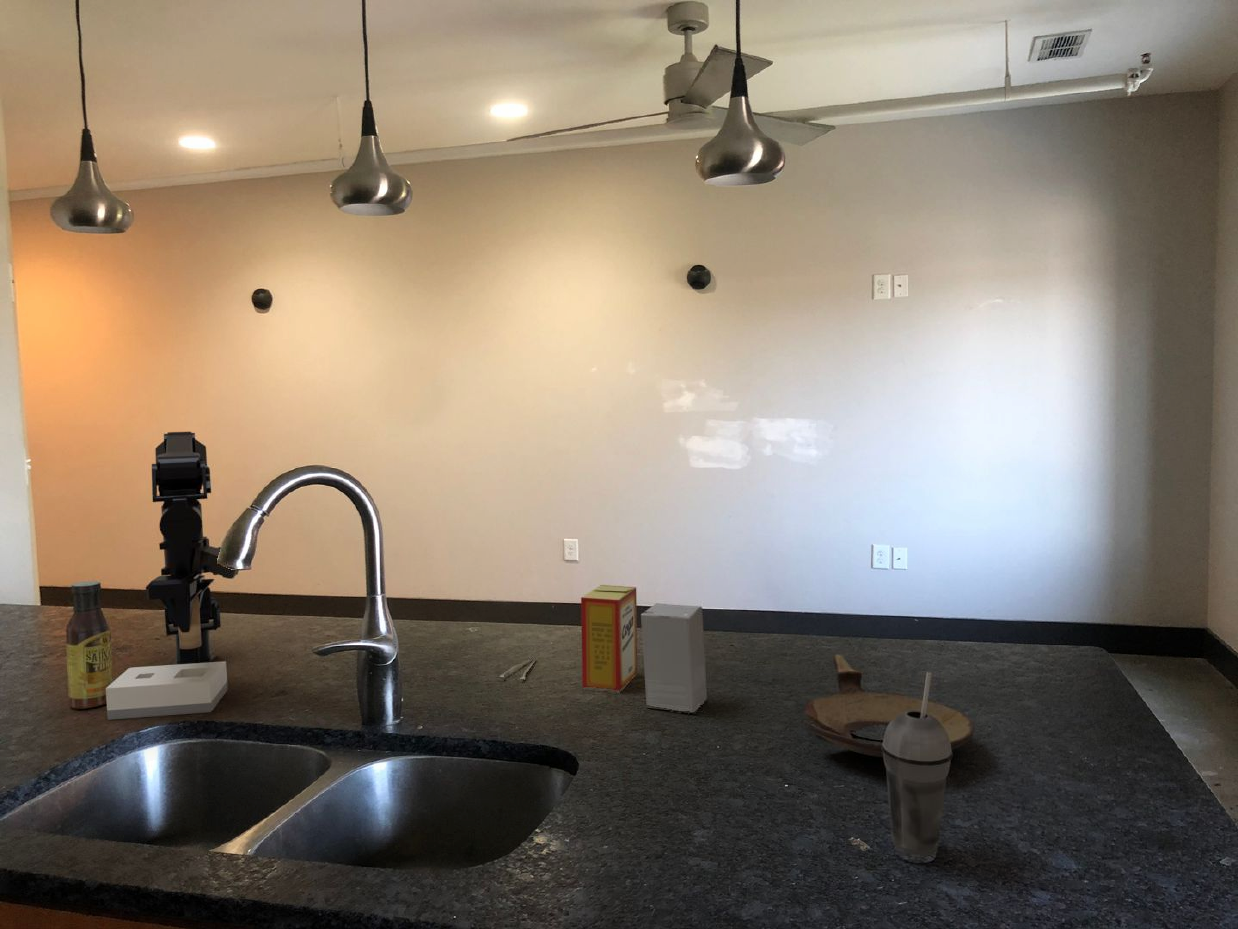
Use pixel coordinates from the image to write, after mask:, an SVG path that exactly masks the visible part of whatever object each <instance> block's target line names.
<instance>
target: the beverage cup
mask: <svg viewBox="0 0 1238 929" xmlns="http://www.w3.org/2000/svg"><path fill="white" fill-rule="evenodd" d="M931 680H932V672H929V671H926V676H925V684H924V687H923V688H924V689H923V697H922V700H923V702H922V709H921V711H907V712H904V713H902V714H899V715H898V716H897V717H895V718H894V719H893V720H892V721H891V722H890V723H889V725H888V726H887V728H886V731H885V734H884V738H883V742H881V744H882V747H881V749H882V750H883V757H882V758H883V763H884V767H885V769H886V770H885V771H886V783H887V786H886V787H887V798H888V811H889V813H888V814H889V824H890V825H889V826H890V837H891V842H893V844H894V846H896V848H898V849H899V850H901V851H903V852H907V853H910V854H914V855H920V856H922V855H923V856H925V855H927V856H928V855H931V854H933V853H935V852H936V851H937V852H938V846H939V844H940V834H941V827H942V818H943V817H942V816H943V812H944V811H943V810H944V801H945V793H946V786H947V785H946V784H947V776H948V775H949V771H950V767H951V760H952V759H953V749H952V750H951V743H950V739H949V736H948V734H947V732H946V730H945V728H944V727H943V726H942V725H941V723H940V722H939V721H938V720H937V719H936V718H934V717H932V716H931V715H929V714H927V713H926V709H927V702H928V701H929V695H930V687H931ZM893 844H892V845H893Z"/></svg>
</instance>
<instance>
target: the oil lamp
mask: <svg viewBox="0 0 1238 929" xmlns="http://www.w3.org/2000/svg"><path fill="white" fill-rule="evenodd" d="M833 665H834V670H835V673H836V679H837V680H836V681H837V685H838V689H839V693H837V694H833V695H827V696H821V697H819V698H816V699H813V700H810V701H809V702H808V703H807V704H806V707H805V711H804V715H805V716H806V717H807V718H809V720H811V721H812V722H813V723H814V724H813V723H810V722H809V723H808V724H807V729H808V730H810V731H811V732H813V733H814V734H816V735H817V736H820V737H821V738H822V739H825V740H826V741H828V742H830V743H832V744H835V745H837V746H840V747H842V748H845V749H846V750H850V751H852V752H855V753H859V754H861V755H865V756H871V757H875V758H876V757H879V758H883V750H882V749H881V747H882V743H873V742H870V743H869V742H864V741H860V740H857V739H854V738H853V736H852V734H850V732H856V731H857V730H862V729H863V728H865V727H868V726H869V727H870V726H871V727H873V726H874V725H877V726H879V725H885V726H888V725H889V723H890V722H891V721H892V720H893V719H894V718H895V717H897V716H898V715H899V714H902V713H904V712H907V711H921V709H922V702H923V699H919V698H915V697H909V696H903V695H899V694H894V693H893V694H891V693H884V692H883V693H881V692H869V691H865V690H864V689H863V688H862V682H861V681H862V678H863V677H862V671H859V670H855V669H853V668H852V666H851V665H850V664H849V663H848V661H847V660H846V659H845V657H844V656H843V655H841V654H839V653H836V654H834V656H833ZM926 713H927V714H929V715H931V716H932V717H934V718H936V719H937V720H938V721H939V722H940V723H941V725H942V726H943V727H944V728H945V730H946V732H947V734H948V736H949V739H950V743H951V750H952V751H953V750H954V749H957V748H959V747H961V746H963V745H965V744H967V743H968V742H970V741H971V739H972V737H973V735H974V731H975V728H974V727H975V726H974V723H973V721H972V719H970V718H969V717H968V716H966V715H964V713H962V712H961V711H960V710H957V709H954V708H951V707H949V706H947V705H944V704H942V703H937V702H935V701H929V700H928V702H927V709H926ZM815 724H816V725H817V726H816V725H815ZM819 726H820V727H819Z"/></svg>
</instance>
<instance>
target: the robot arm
mask: <svg viewBox="0 0 1238 929" xmlns="http://www.w3.org/2000/svg"><path fill="white" fill-rule="evenodd" d="M154 452H155V463H151V490H152V492H151V493H152V494H151V495H152V496H151V497H152V503H159V502H160V503H162V502H163V503H162V505H161V507H160V508H161V516H160V520H159V526H158V527H159V530H160V533H161V535H162V537H163V538H162V539H163V540H162V541H161V542H159V543H158V545H159V551H160V550H161V551H163V556H164V567H163V568H161V569H160V573H161V575H159V576H157V577H155V578H154V579H152V580H151V581H150V582H149V583H148V584H147V585H146V586H145V596H146V600H148V601H149V600H151V601H152V600H160V601H161V603H162V604H163V606H164V621H165V622H164V623H165V634H166V636H167V637H170V636H174V638H175V639H174V641H175V653H176V654H175V655H176V656H175V658H176V660H174V661H173V663H171V664H170V665H179V664H194V663H209V662H214V660H215V658H216V657H217V656H218V655H217V654H218V653H216V652H215V653H214V652H213V653H212V652H211V641H210V637H211V636H210V631H217V630H218V629H219V628H222V627H221V609H220V608H221V607H220V606H221V605H220V604H219V603H218V602H217V600H216V597H212V596H211V588H210V585H211V584H213V583H214V581H215V578H206V575H204V574H207V573H212V574H213V576H222V578H225V579H228V580H229V579H230V580H231V579H234V578H235V576H237V575H239V571H240V569H239V570H231V569H228V568H226V567H223V566H221V565H220V564H217V558H218V555H219V552H220V549H222V547H220V546H218V547H214V546H210V539H209V538H208V536H204V529H203V528H204V527H203V526H204V524H203V512H202V510H203V509H202V503H201V502H200V500H208V494H212V484H211V483H212V482H211V470H210V467H209V466H208V457H207V446H206V445H205V444H204V443H201V442H200V441H199V440H198V439H196V432H192V431H169V432H167V433H163V441H162V442H161V443H160V444H159V445H158V446H157V447H156V448H155V450H154ZM201 490H203V492H201ZM158 493H159V494H158ZM196 596H199V611H200V627H201V643H202V645H201V646H200V647H197V648H193V649H180V646H179V630H178V627H179V629H180V630H181V632H182V633H186V632H189V631H190V625H191V616H192V606H193V600H194V598H195V597H196Z"/></svg>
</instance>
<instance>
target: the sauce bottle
mask: <svg viewBox="0 0 1238 929" xmlns="http://www.w3.org/2000/svg"><path fill="white" fill-rule="evenodd" d="M70 589H71V594H72V595H73V599H72V600H73V608H72V610H73V614H72V615H71V617H70V619H69V621H68V623H67V625H66V628H65V629H66V630H65V631H66V632H65V634H66V642H65V646H66V647H65V648H66V649H65V650H66V651H65V652H66V670H67V671H66V673H67V690H68V697H69V706H70V707H71V708H73V709H80V710H86V709H92V708H96V707H100V706H103V705H107V701H106V688H107V687H108V686H109V685H110V684H111V683H112V682H114V677H113V673H114V672H113V657H112V656H113V654H112V652H113V651H112V635H111V634H112V632H111V629H110V627H109V625H108V622H107V620H106V617H105V615H104V612H103V610H102V604H101V590H102V586H101V582H100V581H97V580H93V581H92V580H91V581H90V580H88V581H82V582H76V583H72V584H71V588H70Z"/></svg>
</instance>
